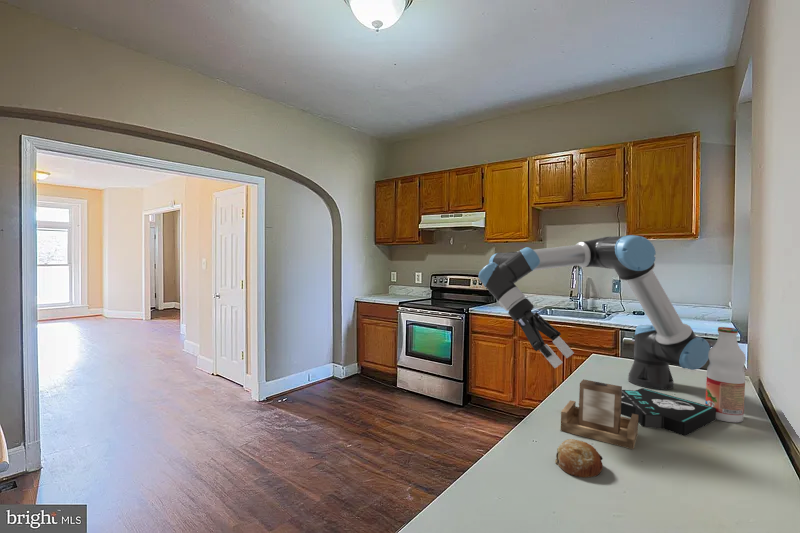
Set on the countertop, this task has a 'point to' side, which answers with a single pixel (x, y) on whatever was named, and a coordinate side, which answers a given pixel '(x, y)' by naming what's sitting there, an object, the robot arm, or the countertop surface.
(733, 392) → the fruit juice
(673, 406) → the wall plaque
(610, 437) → the wooden tray
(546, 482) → the countertop surface
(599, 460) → the bread roll
